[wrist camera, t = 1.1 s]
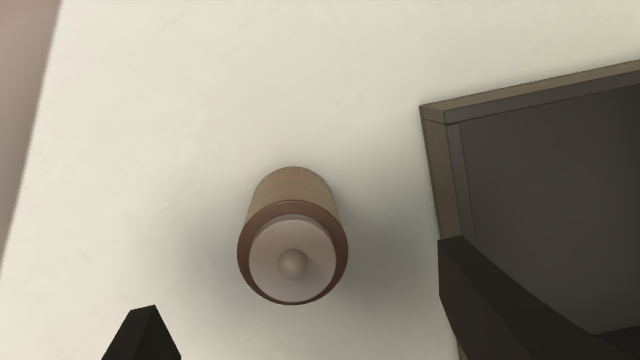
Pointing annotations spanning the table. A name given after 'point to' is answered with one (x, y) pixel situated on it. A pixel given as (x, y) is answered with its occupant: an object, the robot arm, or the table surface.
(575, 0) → the table surface
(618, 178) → the black bin
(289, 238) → the pepper mill
